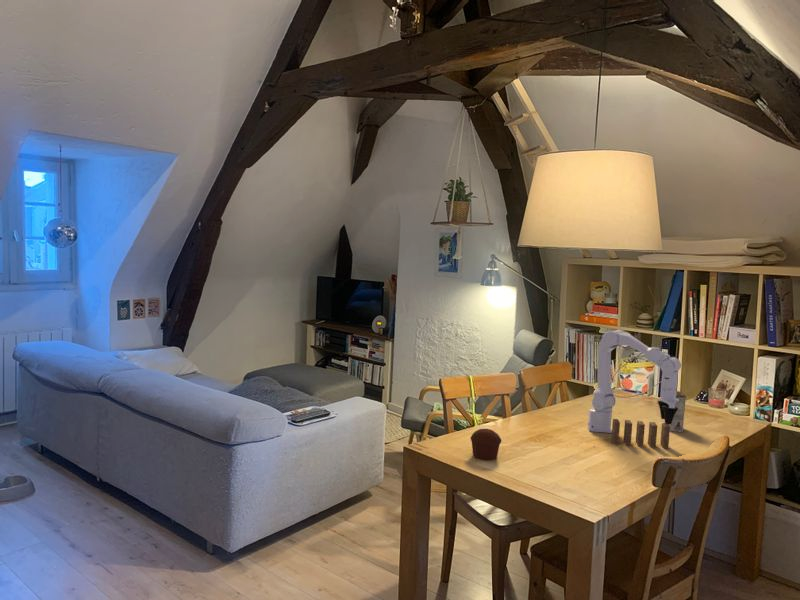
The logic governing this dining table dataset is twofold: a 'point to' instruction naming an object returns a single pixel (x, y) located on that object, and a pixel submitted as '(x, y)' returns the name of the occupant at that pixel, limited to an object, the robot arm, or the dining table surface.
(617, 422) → the domino
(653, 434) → the domino
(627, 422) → the domino
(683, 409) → the coffee box
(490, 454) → the muffin
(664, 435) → the domino
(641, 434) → the domino
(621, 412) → the dining table surface
